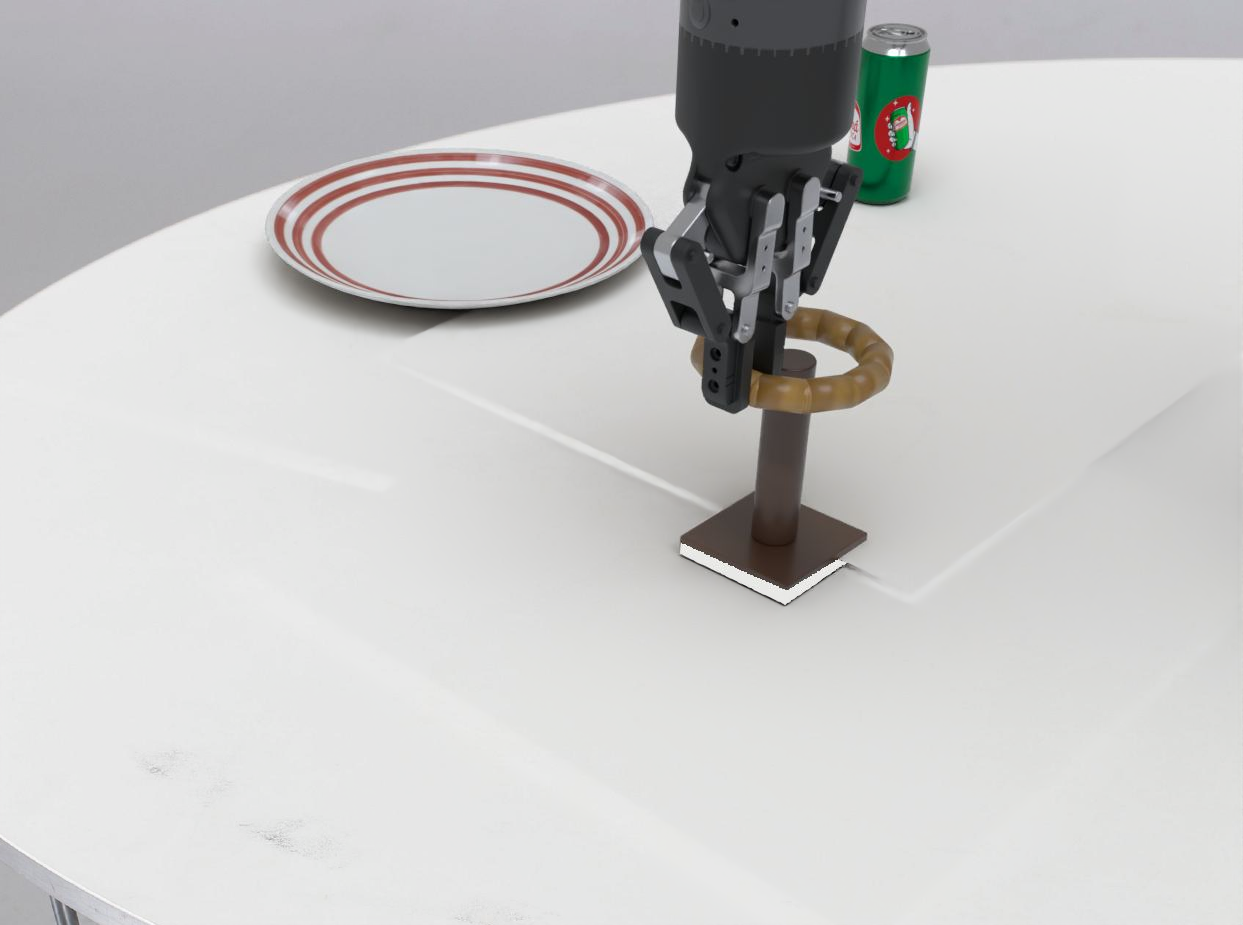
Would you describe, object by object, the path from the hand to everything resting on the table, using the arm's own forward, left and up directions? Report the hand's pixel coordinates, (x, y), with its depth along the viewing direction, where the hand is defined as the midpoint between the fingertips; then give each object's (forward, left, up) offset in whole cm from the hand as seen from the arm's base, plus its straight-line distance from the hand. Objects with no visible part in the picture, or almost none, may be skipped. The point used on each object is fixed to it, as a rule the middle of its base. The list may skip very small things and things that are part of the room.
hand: (741, 396), depth 77 cm
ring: (-4, 0, +1) cm, 4 cm away
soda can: (-50, -25, -11) cm, 57 cm away
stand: (-4, 0, -11) cm, 11 cm away
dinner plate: (-20, -40, -11) cm, 46 cm away
